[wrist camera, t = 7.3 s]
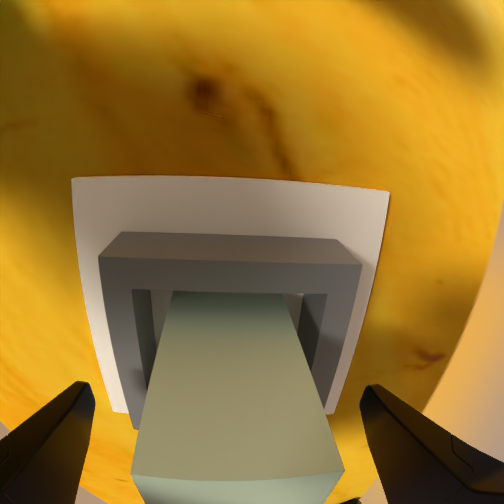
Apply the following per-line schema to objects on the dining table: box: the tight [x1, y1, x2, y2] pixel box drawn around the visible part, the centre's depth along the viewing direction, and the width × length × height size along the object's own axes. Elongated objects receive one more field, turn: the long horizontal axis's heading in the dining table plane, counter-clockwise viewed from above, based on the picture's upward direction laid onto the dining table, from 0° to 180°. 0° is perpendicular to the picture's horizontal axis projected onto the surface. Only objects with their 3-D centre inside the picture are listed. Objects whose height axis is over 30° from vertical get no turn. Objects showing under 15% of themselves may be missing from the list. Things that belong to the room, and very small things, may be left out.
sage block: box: [131, 291, 345, 504], centre depth 9 cm, size 4×4×8 cm
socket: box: [71, 175, 390, 430], centre depth 12 cm, size 12×12×3 cm
